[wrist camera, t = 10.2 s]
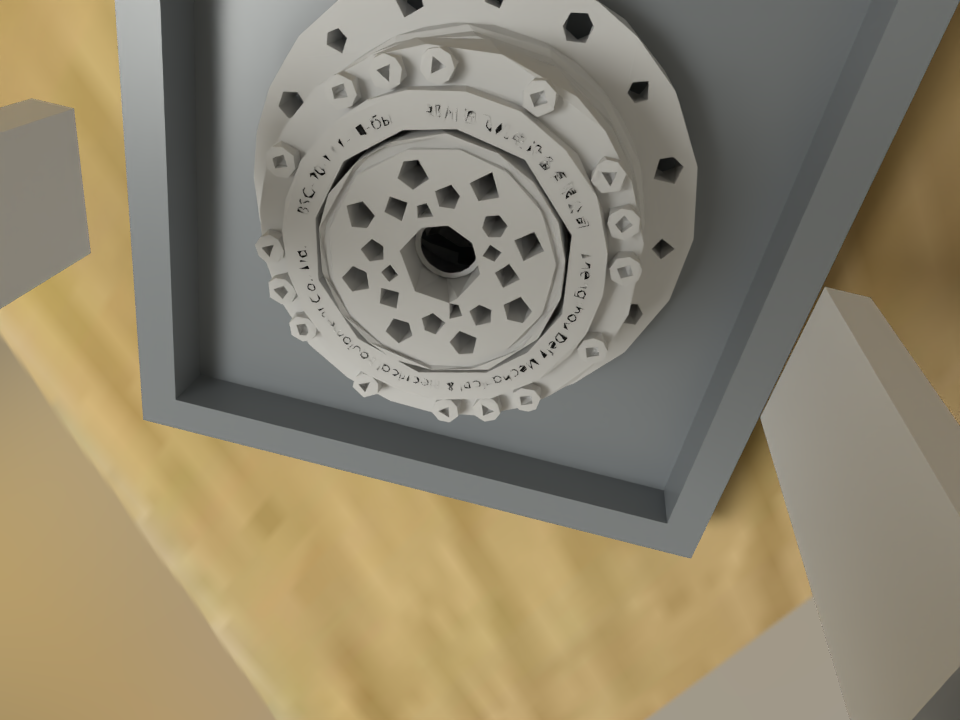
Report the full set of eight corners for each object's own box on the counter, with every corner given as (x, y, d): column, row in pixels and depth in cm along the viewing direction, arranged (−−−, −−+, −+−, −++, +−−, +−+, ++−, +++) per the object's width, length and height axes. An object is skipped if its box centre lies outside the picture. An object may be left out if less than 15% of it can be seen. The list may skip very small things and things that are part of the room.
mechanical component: (714, 342, 18) (659, -109, 14) (742, 445, 14) (678, -131, 10) (356, 395, 21) (212, 29, 16) (299, 495, 17) (93, 53, 13)
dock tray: (155, -286, 14) (93, -318, 12) (966, -112, 14) (1017, -121, 12) (179, 383, 22) (143, 419, 21) (684, 510, 22) (690, 558, 20)
